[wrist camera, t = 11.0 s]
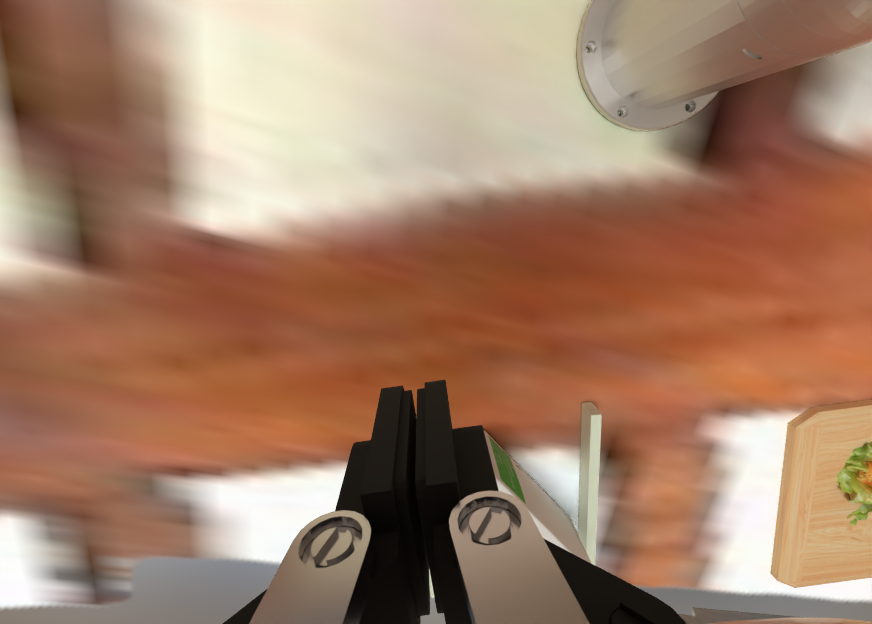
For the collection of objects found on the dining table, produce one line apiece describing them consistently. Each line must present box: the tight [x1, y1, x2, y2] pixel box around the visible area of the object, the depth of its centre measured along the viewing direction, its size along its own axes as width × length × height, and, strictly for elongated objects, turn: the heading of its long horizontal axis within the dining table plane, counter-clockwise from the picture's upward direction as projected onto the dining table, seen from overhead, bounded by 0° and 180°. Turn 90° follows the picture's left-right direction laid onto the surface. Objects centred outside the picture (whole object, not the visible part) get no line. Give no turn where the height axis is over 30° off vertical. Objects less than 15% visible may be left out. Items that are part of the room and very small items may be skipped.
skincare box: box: [484, 430, 592, 564], centre depth 42 cm, size 8×7×16 cm
